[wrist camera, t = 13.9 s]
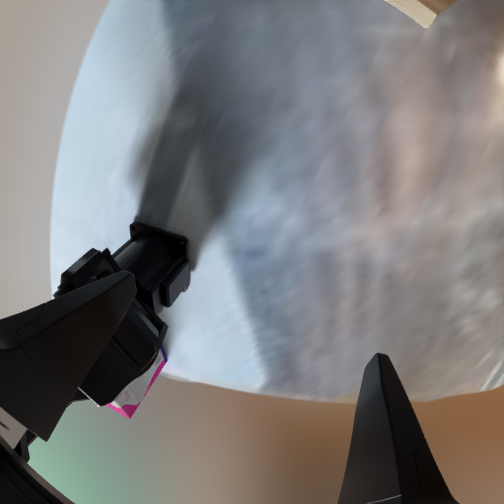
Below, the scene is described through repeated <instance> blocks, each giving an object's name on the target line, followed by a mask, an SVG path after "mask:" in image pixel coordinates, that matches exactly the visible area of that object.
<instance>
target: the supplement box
mask: <svg viewBox="0 0 504 504" xmlns="http://www.w3.org/2000/svg"><path fill="white" fill-rule="evenodd" d="M166 362H167V359H166V357H165V354H164V351H163V348H162V345H161V347H160V350H159V353H158V356H157V358H156V360H155V362H154V363H153V365H152V366H151V367H150V369H149V370H148V371H147V372H146V373H144V374H143V375H142V376H140V377H138V378H136V379H135V380H133V381H132V382H131V383H130V384H128V385H127V386H126V387H125V388H124V389H123V390H122V391H121V392H120V394H119V395H118V396H117V397H116V398H115V399H114V401H113V402H111V403H109V404H106V405H107V406H108V407H110V408H112V409H114V410H115V411H117V412H119V413H120V414H122V415H124V416H126V417H127V418H129V419H130V418H131V417H132V415H133V414H134V412H135V410H136V409H137V407H138V406H139V404H140V403H141V401H142V399H143V398H144V396H145V395H146V393H147V391H148V390H149V388H150V386H151V385H152V384H153V382H154V380H155V379H156V377H157V376H158V374H159V373H160V371H161V370H162V368H163V367H164V365H165V364H166Z"/></svg>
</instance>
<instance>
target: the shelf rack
mask: <svg viewBox="0 0 504 504" xmlns="http://www.w3.org/2000/svg"><path fill="white" fill-rule="evenodd" d="M385 1H387V2H388V3H390V4H391V5H393V6H394V7H396V8H397V9H399V10H400V11H402V12H403V13H405V14H406V15H408V16H409V17H410V18H412V19H413V20H415V21H416V22H417V23H419V24H420V25H421V26H423V27H424V28H425V29H426V28H428V27H429V26H430V25H431V24H432V22H433V21H434V19H435V18H436V16H437V15H438V14H440V13H441V12H442V11H444V10H445V9H446V8H448V7H449V6H451V5H452V4H453V3H455V2H456V1H458V0H385Z"/></svg>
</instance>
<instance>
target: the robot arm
mask: <svg viewBox="0 0 504 504" xmlns="http://www.w3.org/2000/svg"><path fill="white" fill-rule="evenodd" d="M130 236H131V239H130V240H129V241H127V242H126V243H125V244H124V245H123V246H122V247H120V248H119V249H118V250H117V251H116V252H115V253H113V254H112V255H111V254H110V253H111V252H110V251H109V249H108V248H106V249H104V250H103V251H102V252H101V251H98V250H96V249H94V248H92V249H91V250H89V251H88V252H87V253H86V254H85V255H83V256H82V257H81V258H80V259H79V260H77V261H76V262H75V263H74V264H73V265H72V266H70V267H69V268H68V269H67V270H66V271H65V272H64V273H62V274H61V284H60V285H59V286H58V287H57V288H58V290H57V291H56V292H55V293H54V295H53V296H54V298H55V299H53V300H50V301H48V302H46V303H43V304H41V305H39V306H36V307H34V308H31V309H29V310H26V311H23V312H21V313H18V314H15V315H12V316H9V317H6V318H3V319H0V504H75V503H73V502H72V501H71V500H69V499H68V498H66V497H65V496H64V495H63V494H62V493H60V492H59V491H58V490H56V489H55V488H54V487H53V486H52V485H50V484H49V483H48V482H47V481H46V480H45V479H43V478H42V477H41V476H40V475H39V474H38V473H37V472H36V471H35V470H34V469H32V468H31V467H30V466H29V465H28V464H27V462H28V461H29V459H30V456H29V451H28V446H29V445H30V444H31V443H32V442H33V441H34V440H35V439H36V438H37V437H40V438H41V439H43V440H44V441H45V442H47V441H48V439H49V438H50V436H51V434H52V432H53V430H54V429H55V427H56V425H57V423H58V421H59V420H60V418H61V416H62V414H63V413H64V411H65V409H66V408H67V407H68V406H69V405H70V404H71V403H72V402H75V401H83V400H90V399H91V400H92V401H93V402H94V403H96V404H97V405H98V406H103V405H106V404H109V403H111V402H113V401H114V399H115V398H116V397H117V396H118V395H119V394H120V392H121V391H122V390H123V389H124V388H125V387H126V386H127V385H128V384H130V383H131V382H132V381H133V380H135V379H136V378H138V377H140V376H142V375H143V374H144V373H146V372H147V371H148V370H149V369H150V367H151V366H152V365H153V363H154V362H155V360H156V358H157V356H158V353H159V350H160V347H161V345H162V342H163V339H164V337H165V334H166V331H167V329H168V326H167V324H166V323H165V322H163V321H162V320H161V319H160V318H159V316H158V315H159V314H160V312H161V311H162V310H163V308H164V307H167V308H168V307H170V306H171V305H172V304H173V303H174V301H175V300H176V299H177V297H178V296H179V294H180V293H181V292H186V290H187V289H188V282H189V275H190V262H189V260H188V240H187V239H186V238H185V237H183V236H179V235H176V234H173V233H170V232H166V231H163V230H160V229H157V228H153V227H150V226H147V225H143V224H140V223H137V222H133V223H132V224H130ZM181 241H182V242H183V243H184V244H183V243H182V242H181ZM338 504H459V503H458V502H457V501H456V500H455V499H454V498H453V497H452V495H451V493H450V491H449V489H448V487H447V485H446V483H445V481H444V479H443V477H442V475H441V473H440V471H439V469H438V466H437V464H436V462H435V460H434V458H433V456H432V453H431V451H430V448H429V446H428V444H427V441H426V438H424V434H423V431H422V429H421V426H420V424H419V422H418V419H417V417H416V414H415V412H414V410H413V408H412V405H411V403H410V401H409V399H408V396H407V394H406V392H405V390H404V388H403V385H402V383H401V381H400V379H399V377H398V375H397V373H396V371H395V368H394V366H393V364H392V362H391V360H390V358H389V356H388V355H386V354H382V353H376V354H375V355H374V356H373V358H372V359H371V360H370V362H369V363H368V364H367V366H366V367H365V370H364V375H363V379H362V384H361V389H360V393H359V397H358V401H357V406H356V412H355V418H354V425H353V432H352V438H351V444H350V450H349V455H348V460H347V466H346V471H345V475H344V479H343V484H342V488H341V492H340V496H339V500H338Z"/></svg>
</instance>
